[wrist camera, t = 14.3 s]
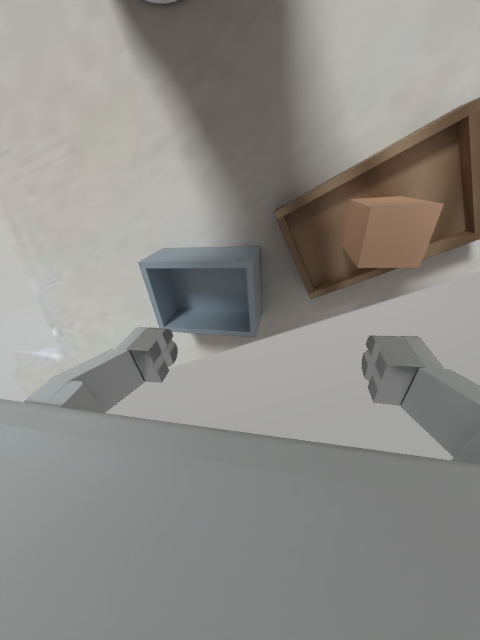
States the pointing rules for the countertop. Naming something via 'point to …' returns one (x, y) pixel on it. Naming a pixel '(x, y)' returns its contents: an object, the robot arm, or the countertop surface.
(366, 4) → the countertop surface
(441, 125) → the tray
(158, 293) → the blue-grey storage bin
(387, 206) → the block
